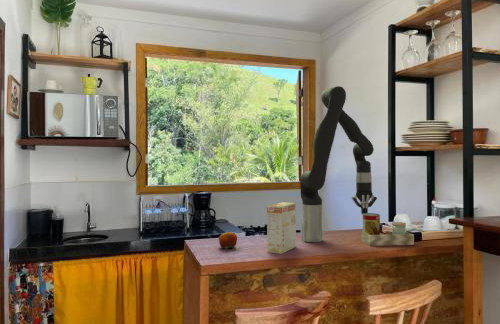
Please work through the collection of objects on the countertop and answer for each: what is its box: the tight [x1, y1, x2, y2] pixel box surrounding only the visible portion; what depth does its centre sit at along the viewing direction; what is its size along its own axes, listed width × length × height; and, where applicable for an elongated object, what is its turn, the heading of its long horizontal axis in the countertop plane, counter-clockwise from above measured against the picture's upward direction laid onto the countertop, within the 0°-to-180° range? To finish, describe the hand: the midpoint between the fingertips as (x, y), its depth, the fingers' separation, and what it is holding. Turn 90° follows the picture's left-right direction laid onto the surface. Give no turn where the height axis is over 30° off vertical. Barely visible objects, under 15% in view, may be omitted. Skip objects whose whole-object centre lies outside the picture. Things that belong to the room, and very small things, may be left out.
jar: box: [392, 221, 407, 235], centre depth 170 cm, size 6×6×9 cm
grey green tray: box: [361, 230, 415, 247], centre depth 169 cm, size 20×10×4 cm, turn 93°
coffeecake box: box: [266, 201, 297, 255], centre depth 158 cm, size 15×7×20 cm, turn 149°
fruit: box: [218, 231, 238, 250], centre depth 161 cm, size 8×8×8 cm
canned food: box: [362, 212, 381, 235], centre depth 178 cm, size 8×8×12 cm
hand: (364, 215), depth 188 cm, fingers closed
